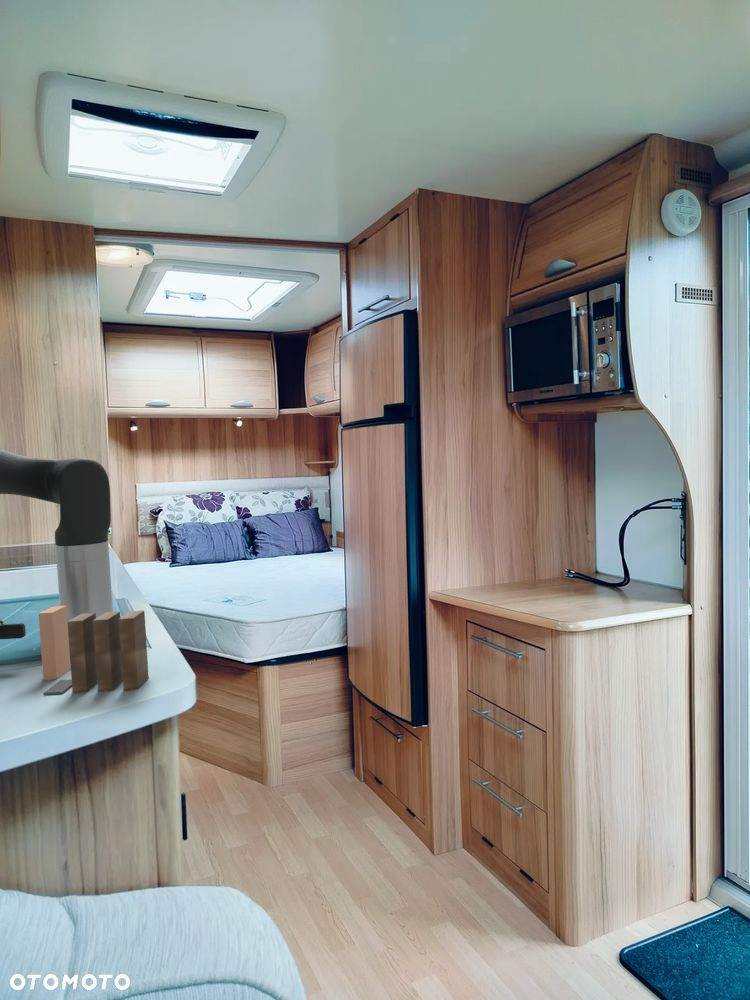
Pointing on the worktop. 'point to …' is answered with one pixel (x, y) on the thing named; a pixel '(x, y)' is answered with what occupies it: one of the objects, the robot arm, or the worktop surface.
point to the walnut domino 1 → (82, 652)
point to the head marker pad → (59, 687)
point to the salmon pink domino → (54, 642)
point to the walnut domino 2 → (108, 651)
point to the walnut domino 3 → (133, 649)
